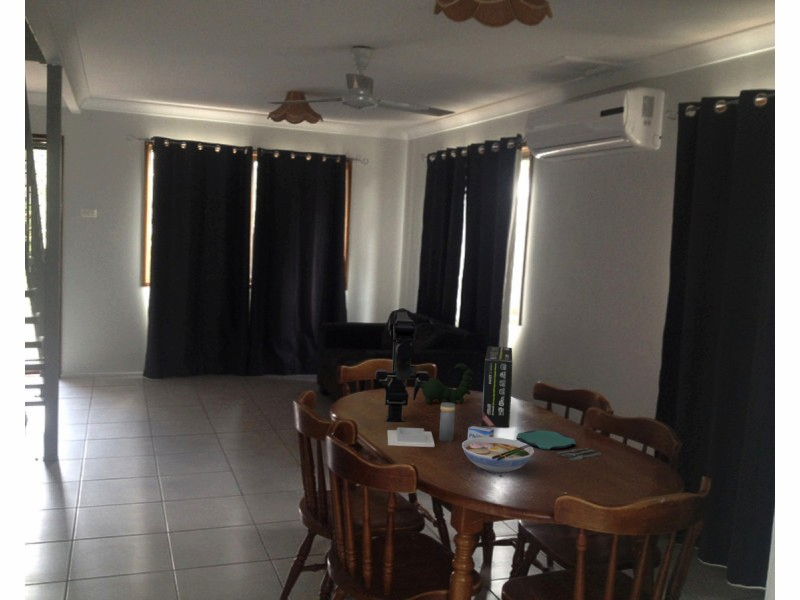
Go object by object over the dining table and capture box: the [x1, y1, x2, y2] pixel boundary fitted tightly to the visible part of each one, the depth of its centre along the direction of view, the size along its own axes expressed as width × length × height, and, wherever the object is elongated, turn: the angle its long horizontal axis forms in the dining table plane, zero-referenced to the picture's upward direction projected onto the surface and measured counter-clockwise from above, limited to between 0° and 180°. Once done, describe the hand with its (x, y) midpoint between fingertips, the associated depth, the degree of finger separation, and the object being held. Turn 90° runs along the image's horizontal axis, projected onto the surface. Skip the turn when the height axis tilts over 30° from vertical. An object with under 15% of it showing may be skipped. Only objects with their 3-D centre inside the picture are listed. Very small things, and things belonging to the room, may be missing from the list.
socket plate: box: [387, 427, 435, 448], centre depth 257 cm, size 16×16×4 cm
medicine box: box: [467, 425, 495, 439], centre depth 245 cm, size 8×4×9 cm, turn 62°
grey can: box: [438, 401, 456, 442], centre depth 259 cm, size 5×5×13 cm
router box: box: [481, 345, 513, 429], centre depth 296 cm, size 36×11×27 cm, turn 172°
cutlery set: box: [516, 429, 602, 461], centre depth 258 cm, size 20×30×2 cm, turn 30°
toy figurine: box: [419, 363, 474, 405], centre depth 316 cm, size 9×19×25 cm
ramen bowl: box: [461, 436, 536, 474], centre depth 228 cm, size 25×23×8 cm
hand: (401, 399), depth 255 cm, fingers open, 9 cm apart
